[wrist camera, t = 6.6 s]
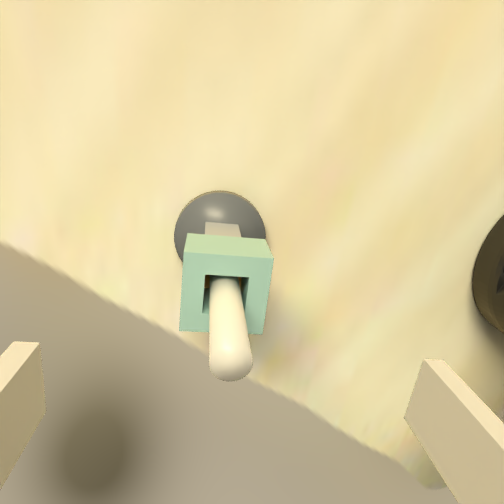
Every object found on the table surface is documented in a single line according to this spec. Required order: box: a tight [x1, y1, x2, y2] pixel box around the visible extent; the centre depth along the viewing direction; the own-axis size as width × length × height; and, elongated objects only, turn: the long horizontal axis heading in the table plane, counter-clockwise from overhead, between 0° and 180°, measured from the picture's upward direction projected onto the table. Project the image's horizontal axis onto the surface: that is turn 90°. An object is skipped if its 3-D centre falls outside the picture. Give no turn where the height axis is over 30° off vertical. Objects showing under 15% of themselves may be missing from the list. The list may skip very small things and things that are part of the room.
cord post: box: [174, 191, 266, 381], centre depth 20 cm, size 7×7×16 cm
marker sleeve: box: [179, 233, 274, 334], centre depth 19 cm, size 4×4×3 cm
